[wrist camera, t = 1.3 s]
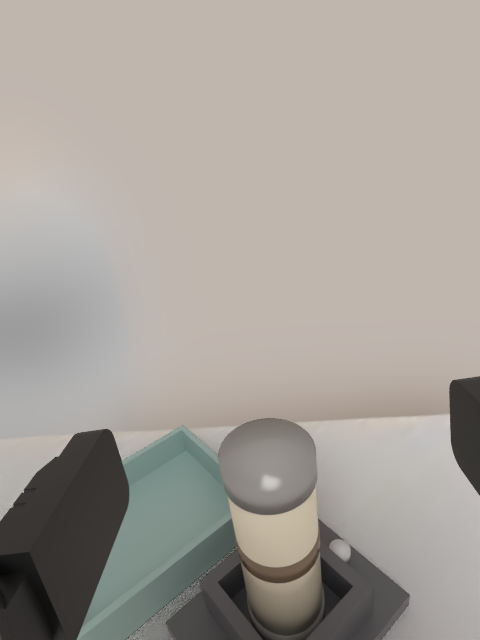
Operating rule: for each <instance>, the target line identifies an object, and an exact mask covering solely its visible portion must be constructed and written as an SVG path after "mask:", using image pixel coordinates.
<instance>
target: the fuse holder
mask: <svg viewBox="0 0 480 640" xmlns="http://www.w3.org/2000/svg"><path fill="white" fill-rule="evenodd" d="M318 522H319V529H320V561H321V578H322V586H323V590H324V599H325V619H324V620H323V621H322V622H321V623H320V624H319V625H318V626H317V628H316V629H315V630H314V631H313V632H312V633H311V634H310V635H309V636H308V638H307V639H306V640H381V639H382V638H383V637H384V635H385V634H386V633H387V632H388V630H389V629H390V628H391V626H392V625H393V624H394V622H395V621H396V620H397V619H398V617H399V616H400V615H401V613H402V612H403V611H404V610H405V608H406V607H407V606H408V604H409V596H410V595H409V594H408V593H407V592H406V591H404V590H403V589H402V588H401V587H400V586H398V585H397V584H396V583H395V582H394V581H392V580H391V579H390V578H389V577H388V576H386V575H385V574H384V573H383V572H382V571H380V570H379V569H378V568H377V567H375V566H374V565H373V564H372V563H371V562H369V561H368V560H367V559H366V558H365V557H363V556H362V555H361V554H360V553H359V552H357V551H356V550H355V549H354V548H353V547H351V546H350V545H349V544H348V543H347V542H346V541H344V540H343V539H342V538H341V537H339V536H338V535H337V534H336V533H335V532H333V531H332V530H331V529H330V528H328V527H327V526H326V525H325V524H324V523H322V522H321V521H320V520H319V519H318ZM199 583H200V587H201V590H202V591H201V592H200V593H199V594H198V595H197V596H196V597H194V598H193V599H192V600H191V601H190V602H189V603H188V604H186V605H185V606H184V607H183V608H182V609H181V610H179V611H178V612H177V613H176V614H175V615H174V616H173V617H171V618H170V619H169V620H168V621H167V622H166V624H167V627H168V629H169V632H170V633H171V635H172V637H173V638H174V640H263V639H262V638H261V637H260V635H259V634H258V633H257V632H256V630H255V629H254V628H253V626H252V623H251V619H250V614H249V609H248V605H247V591H246V586H245V581H244V576H243V571H242V566H241V561H240V558H239V555H238V551H237V550H236V551H235V552H233V553H232V554H231V555H230V556H229V557H228V558H226V559H225V560H224V561H223V562H222V563H221V564H219V565H218V566H217V567H216V568H215V569H213V570H212V571H211V572H210V573H209V574H208V575H206V576H205V577H204V578H203V579H202V580H200V581H199Z"/></svg>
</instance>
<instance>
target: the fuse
mask: <svg viewBox="0 0 480 640" xmlns="http://www.w3.org/2000/svg"><path fill="white" fill-rule="evenodd" d="M218 462H219V467H220V472H221V477H222V481H223V486H224V490H225V492H226V494H227V496H228V501H229V506H230V511H231V516H232V521H233V526H234V535H235V541H236V546H237V551H238V555H239V558H240V561H241V566H242V571H243V576H244V581H245V586H246V591H247V605H248V609H249V614H250V619H251V623H252V626H253V628H254V629H255V630H256V632H257V633H258V634H259V635H260V637H261V638H262V639H263V640H306V639H307V638H308V636H309V635H310V634H311V633H312V632H313V631H314V630H315V629H316V628H317V626H318V625H319V624H320V623H321V622H322V621H323V620H324V619H325V599H324V590H323V586H322V578H321V561H320V529H319V522H318V512H317V496H316V482H317V461H316V448H315V444H314V441H313V439H312V437H311V436H310V435H309V433H308V432H307V431H306V430H305V429H303V428H302V427H300V426H299V425H297V424H295V423H293V422H290V421H287V420H282V419H275V418H266V419H258V420H254V421H251V422H247V423H245V424H243V425H241V426H239V427H237V428H236V429H234V430H233V431H232V432H231V433H229V434H228V435H227V437H226V438H225V439H224V441H223V442H222V444H221V446H220V449H219V453H218Z"/></svg>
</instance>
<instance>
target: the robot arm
mask: <svg viewBox="0 0 480 640" xmlns="http://www.w3.org/2000/svg"><path fill="white" fill-rule="evenodd" d="M449 393H450V428H451V444H452V449H453V453H454V456H455V459H456V461H457V463H458V465H459V467H460V468H461V470H462V471H463V473H464V474H465V476H466V477H467V478H468V480H469V481H470V483H471V484H472V485H473V487H474V488H475V490H476V491H477V492H478V494H479V495H480V376H479V377H473V378H466V379H458V380H453V381H452V382H451V384H450V392H449ZM128 504H129V483H128V479H127V476H126V473H125V470H124V467H123V464H122V461H121V457H120V454H119V451H118V448H117V445H116V442H115V439H114V436H113V434H112V432H111V431H110V430H108V429H102V430H96V431H89V432H81V433H77V434H75V435H74V436H73V437H72V439H71V440H70V442H69V443H68V444H67V446H66V447H65V449H64V450H63V452H62V453H61V454H60V456H59V457H55V458H54V459H53V460H52V461H50V462H49V463H48V464H47V465H45V466H44V467H43V468H42V469H41V470H39V471H38V472H37V473H36V474H35V476H34V477H33V478H32V480H31V481H30V482H29V484H28V485H27V486H26V488H25V489H24V493H21V494H20V496H19V497H18V499H17V500H16V501H15V503H14V504H13V505H14V506H13V508H10V509H9V511H8V512H7V513H6V515H5V516H4V517H3V519H2V520H1V521H0V640H77V638H78V635H79V633H80V630H81V628H82V625H83V622H84V620H85V617H86V615H87V612H88V609H89V607H90V604H91V602H92V599H93V597H94V594H95V591H96V589H97V586H98V584H99V581H100V578H101V576H102V573H103V571H104V568H105V565H106V563H107V560H108V558H109V555H110V553H111V550H112V547H113V545H114V542H115V540H116V537H117V534H118V532H119V529H120V527H121V524H122V522H123V519H124V516H125V514H126V511H127V508H128Z"/></svg>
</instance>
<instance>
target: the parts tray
mask: <svg viewBox="0 0 480 640" xmlns="http://www.w3.org/2000/svg"><path fill="white" fill-rule="evenodd" d="M122 464H123V467H124V470H125V473H126V476H127V479H128V483H129V504H128V508H127V511H126V514H125V516H124V519H123V522H122V524H121V527H120V529H119V532H118V534H117V537H116V540H115V542H114V545H113V547H112V550H111V553H110V555H109V558H108V560H107V563H106V565H105V568H104V571H103V573H102V576H101V578H100V581H99V584H98V586H97V589H96V591H95V594H94V597H93V599H92V602H91V604H90V607H89V609H88V612H87V615H86V617H85V620H84V622H83V625H82V628H81V630H80V633H79V635H78V638H77V640H125V639H126V638H127V637H129V636H130V635H131V634H132V633H133V632H135V631H136V630H137V629H138V628H139V627H141V626H142V625H143V624H144V623H145V622H146V621H148V620H149V619H150V618H151V617H152V616H154V615H155V614H156V613H157V612H158V611H160V610H161V609H162V608H163V607H164V606H165V605H167V604H168V603H169V602H170V601H171V600H173V599H174V598H175V597H176V596H177V595H179V594H180V593H181V592H182V591H183V590H185V589H186V588H187V587H188V586H189V585H190V584H192V583H193V582H194V581H195V580H196V579H198V578H199V577H200V576H201V575H202V574H204V573H205V572H206V571H207V570H208V569H209V568H211V567H212V566H213V565H214V564H215V563H217V562H218V561H219V560H220V559H221V558H223V557H224V556H225V555H226V554H227V553H228V552H230V551H231V550H232V549H233V548H234V547H236V541H235V535H234V526H233V521H232V516H231V511H230V506H229V501H228V496H227V494H226V492H225V490H224V486H223V481H222V477H221V472H220V467H219V462H218V456H217V455H216V454H215V453H214V452H213V451H212V450H211V449H210V448H208V447H207V446H206V445H205V444H204V443H203V442H202V441H201V440H199V439H198V438H197V437H196V436H195V435H194V434H193V433H192V432H190V431H189V430H188V429H187V428H186V427H185V426H184V425H182V426H180V427H178V428H177V429H175V430H173V431H172V432H170V433H168V434H167V435H165V436H163V437H162V438H160V439H158V440H157V441H155V442H153V443H152V444H150V445H148V446H147V447H145V448H143V449H142V450H140V451H138V452H136V453H135V454H133V455H131V456H130V457H128V458H126V459H125V460H123V461H122Z"/></svg>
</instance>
